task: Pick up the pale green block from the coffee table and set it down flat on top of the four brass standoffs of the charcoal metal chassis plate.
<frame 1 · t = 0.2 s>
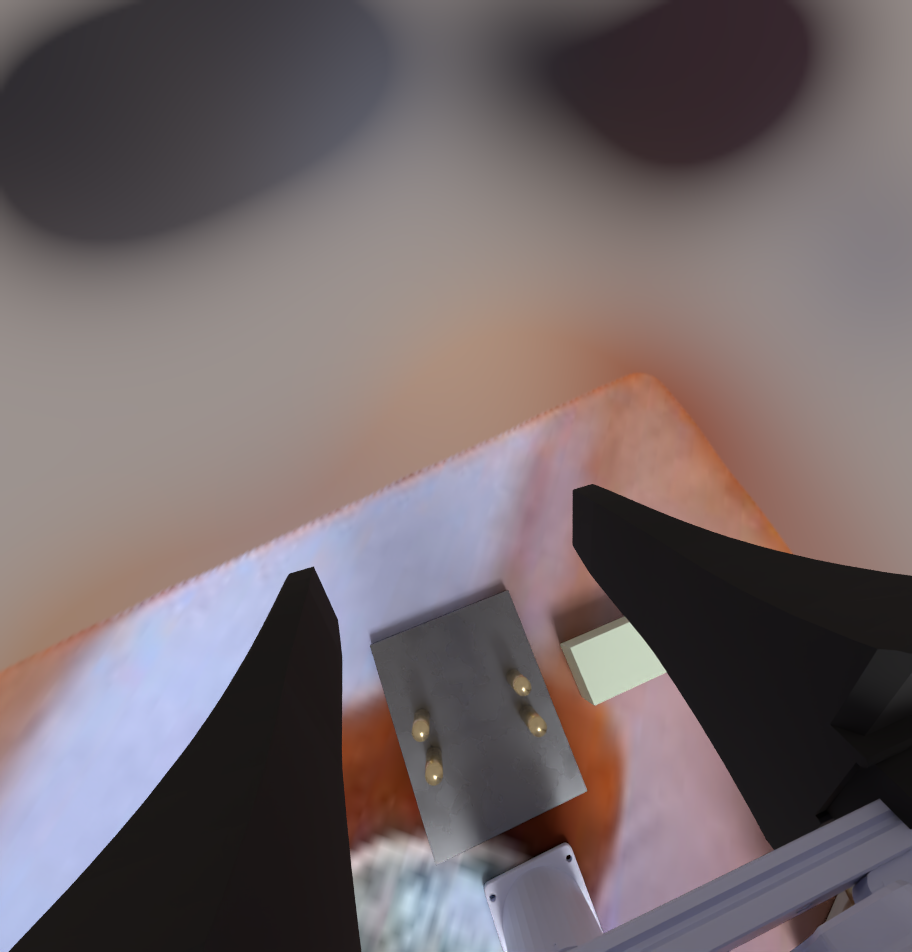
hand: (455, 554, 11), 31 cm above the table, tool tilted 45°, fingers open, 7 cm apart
chassis: (474, 712, 38), on the table
pale green block: (623, 645, 41), on the table
coffee box: (856, 941, 35), on the table
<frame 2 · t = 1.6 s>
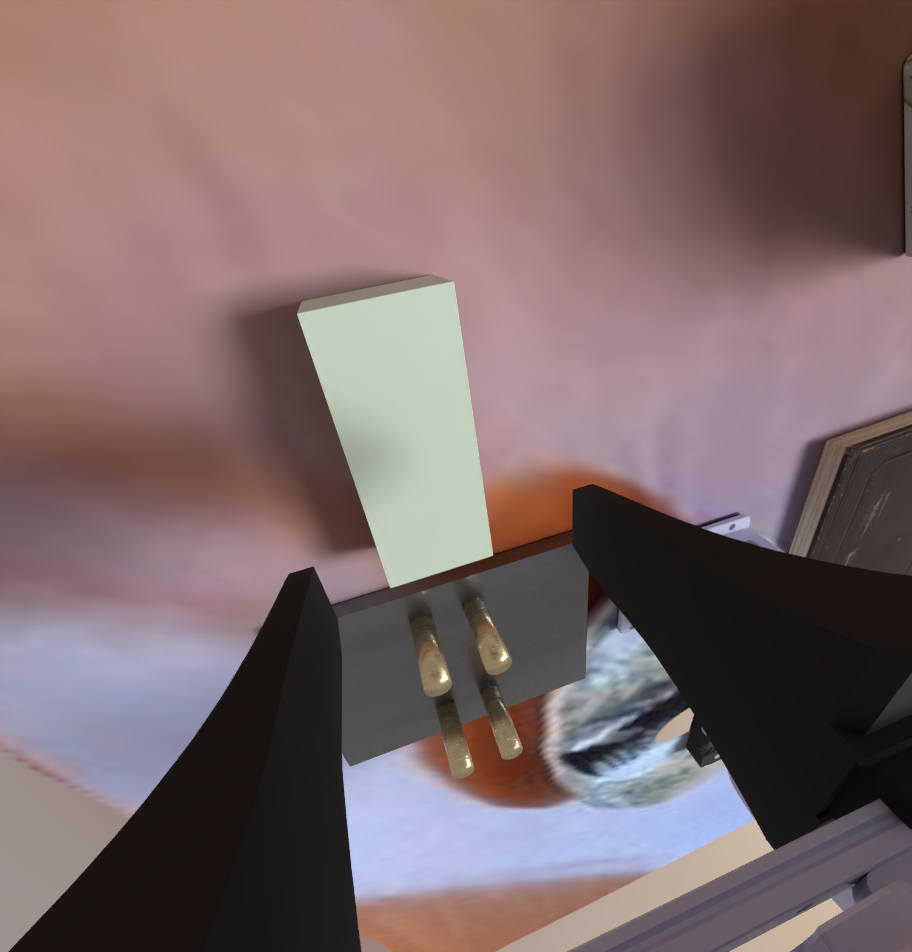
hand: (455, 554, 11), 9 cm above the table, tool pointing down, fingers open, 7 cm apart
disk drive: (745, 694, 45), on the table
chassis: (455, 649, 27), on the table
pale green block: (402, 427, 19), on the table
hardcover book: (852, 527, 35), on the table
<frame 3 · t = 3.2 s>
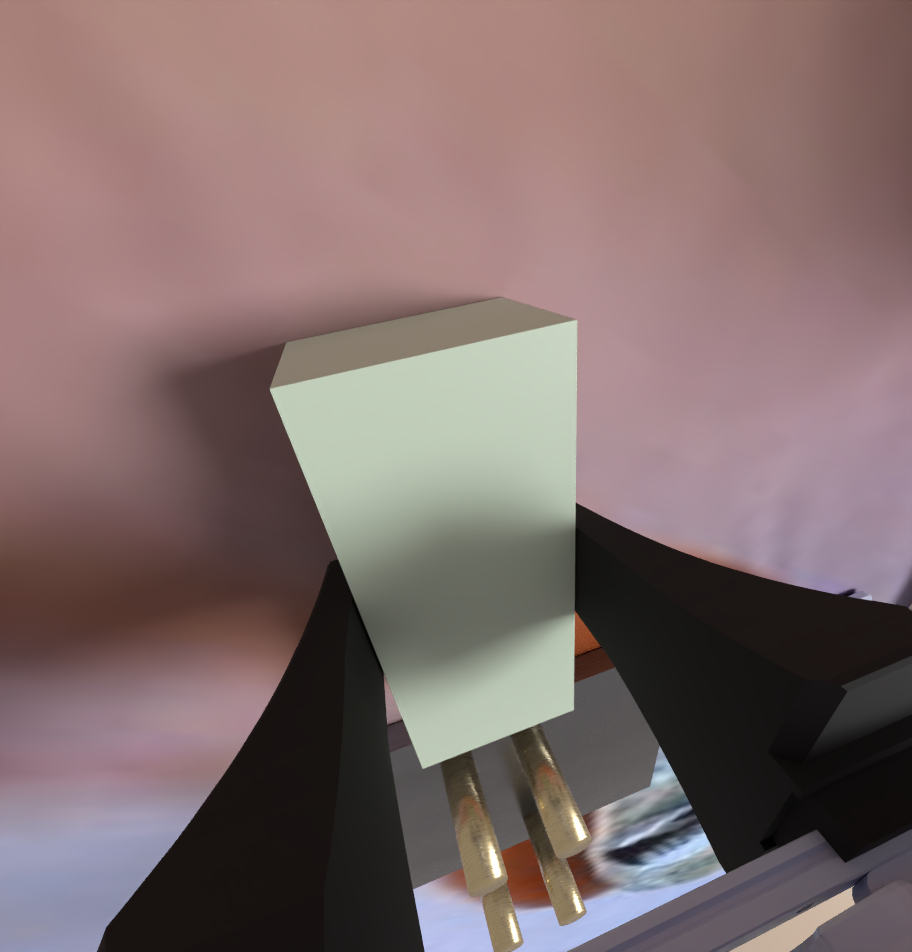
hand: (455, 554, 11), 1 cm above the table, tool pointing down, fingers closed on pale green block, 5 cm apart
chassis: (494, 770, 21), on the table
pale green block: (441, 523, 13), on the table, touching gripper
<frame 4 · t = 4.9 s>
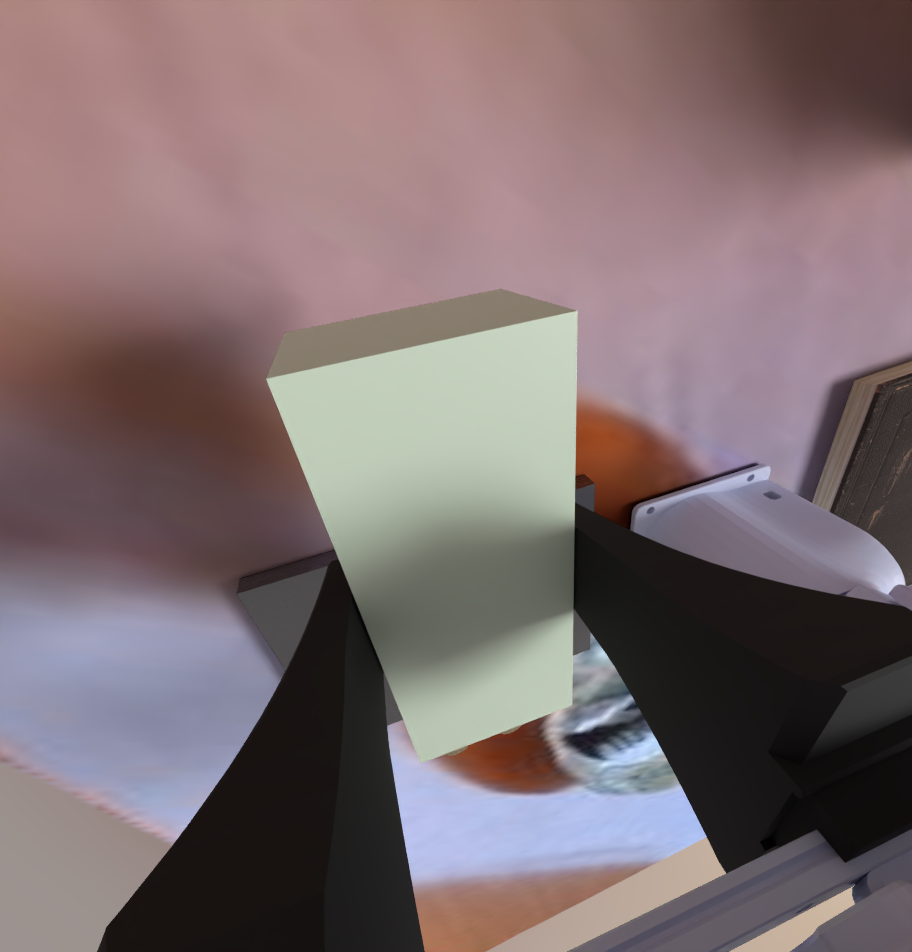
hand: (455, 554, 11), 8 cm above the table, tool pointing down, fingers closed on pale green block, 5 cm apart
chassis: (446, 614, 24), on the table
pale green block: (440, 517, 12), point 7 cm above the table, touching gripper
hardcover book: (875, 486, 32), on the table
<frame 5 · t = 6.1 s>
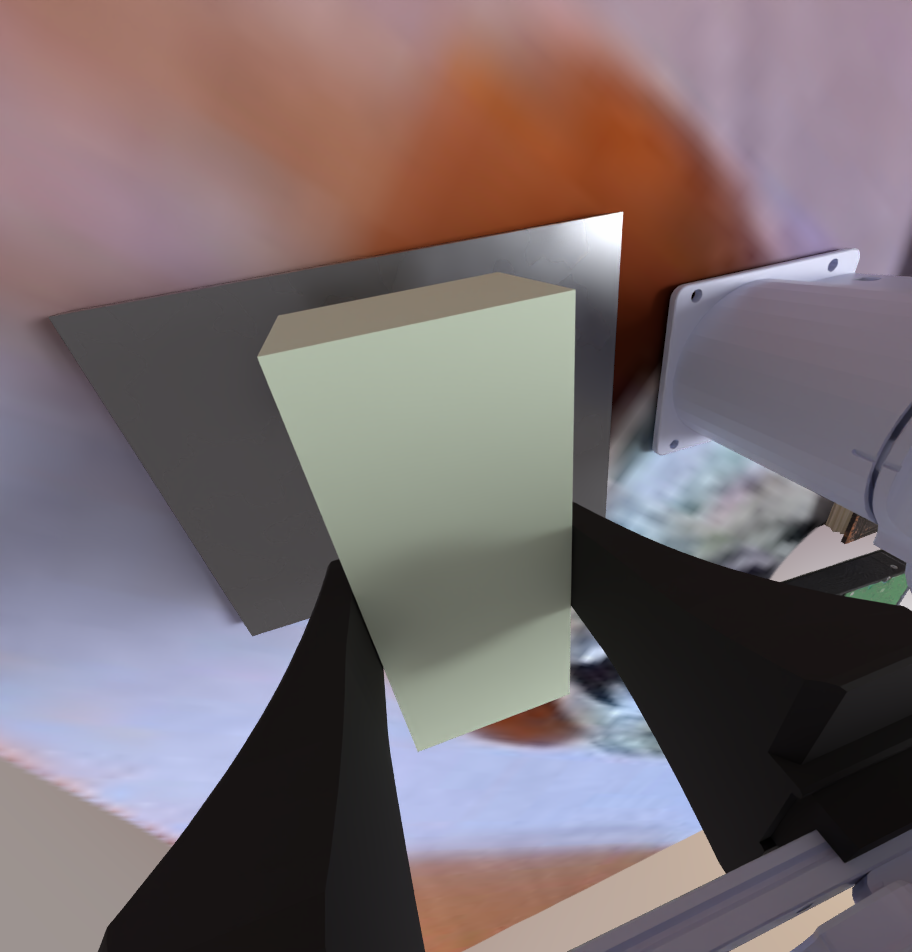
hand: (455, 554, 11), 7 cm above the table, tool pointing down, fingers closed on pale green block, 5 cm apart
disk drive: (798, 606, 36), on the table
chassis: (408, 442, 17), on the table
pale green block: (437, 506, 12), point 6 cm above the table, touching gripper
when the fingers open (7 cm above the table, at t = 6.8 s): pale green block stays where it is, resting on chassis.
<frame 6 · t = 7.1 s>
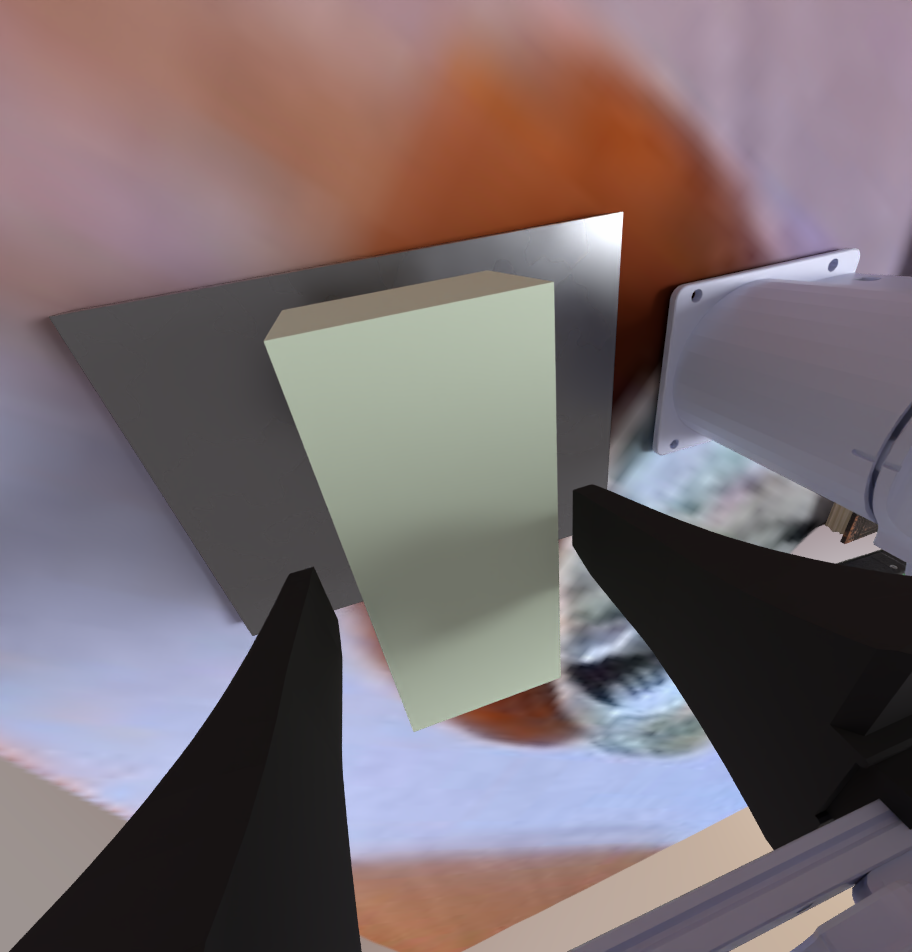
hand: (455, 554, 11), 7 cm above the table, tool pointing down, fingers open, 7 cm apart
disk drive: (798, 606, 36), on the table
chassis: (408, 442, 17), on the table
pale green block: (432, 494, 13), point 5 cm above the table, touching chassis
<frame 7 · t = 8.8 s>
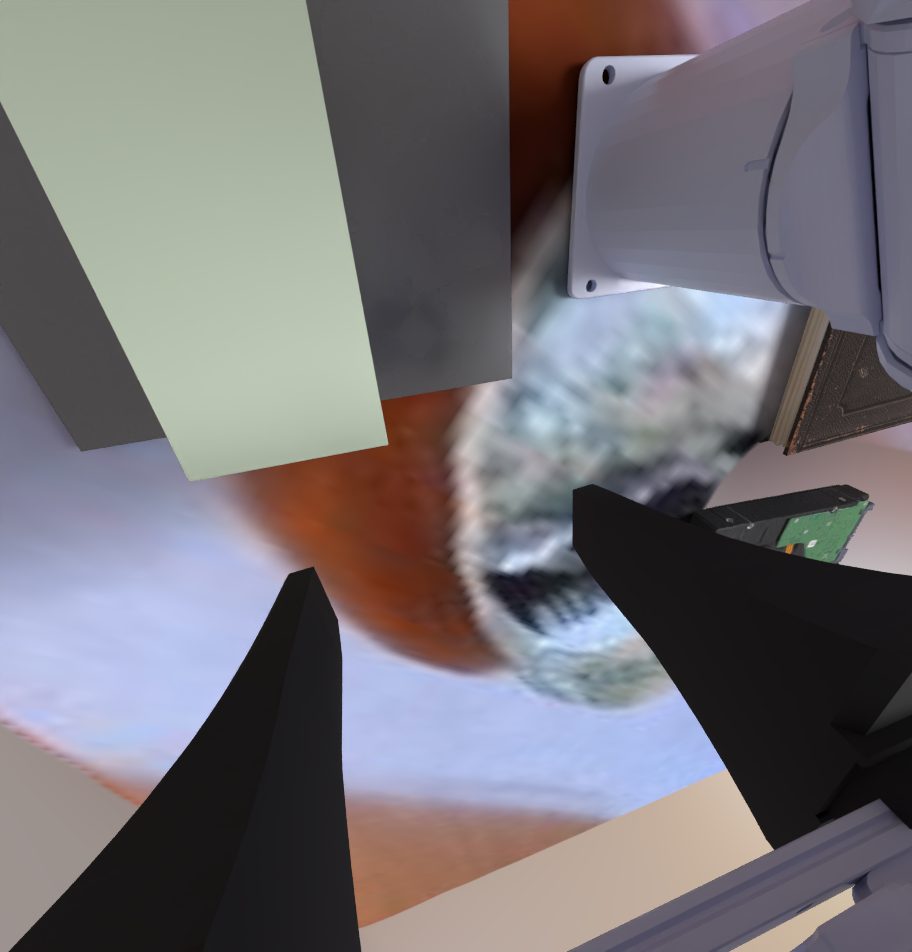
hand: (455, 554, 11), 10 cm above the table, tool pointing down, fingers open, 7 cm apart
disk drive: (744, 544, 34), on the table
chassis: (266, 221, 15), on the table
pale green block: (235, 195, 10), point 5 cm above the table, touching chassis
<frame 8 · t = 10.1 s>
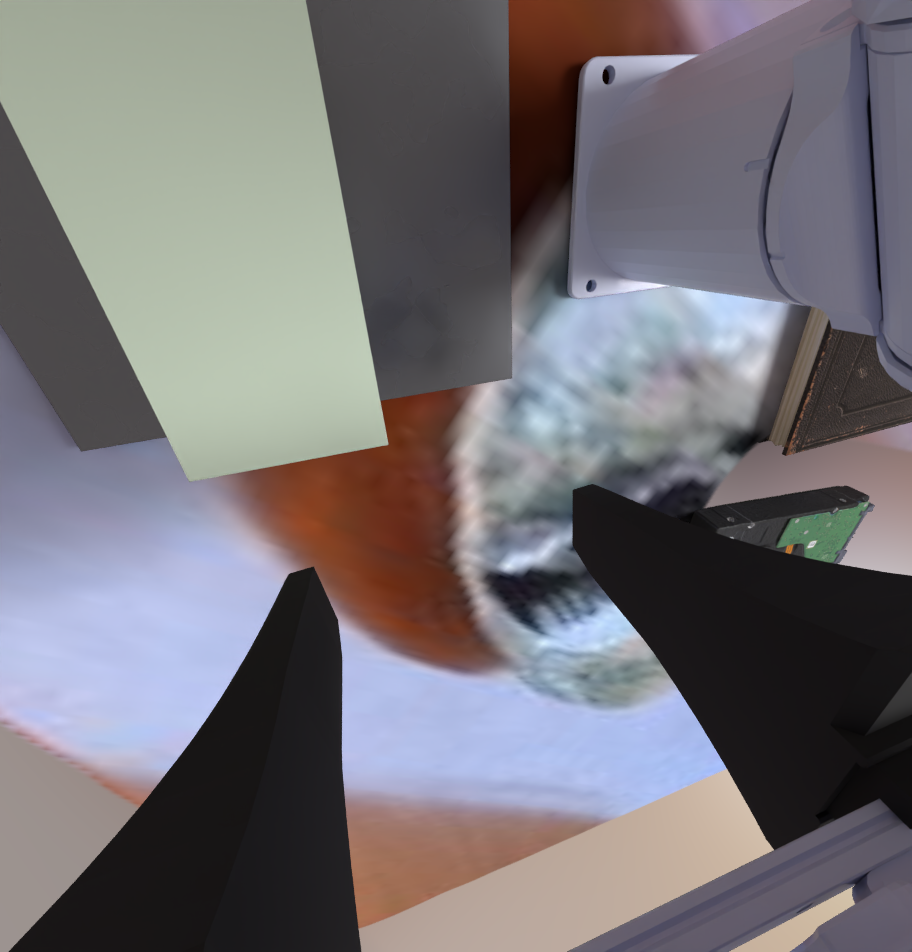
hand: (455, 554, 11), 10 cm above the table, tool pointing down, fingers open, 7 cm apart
disk drive: (743, 544, 34), on the table
chassis: (266, 221, 15), on the table
pale green block: (235, 195, 10), point 5 cm above the table, touching chassis
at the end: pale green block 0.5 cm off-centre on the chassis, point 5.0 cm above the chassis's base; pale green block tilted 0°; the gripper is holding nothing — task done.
